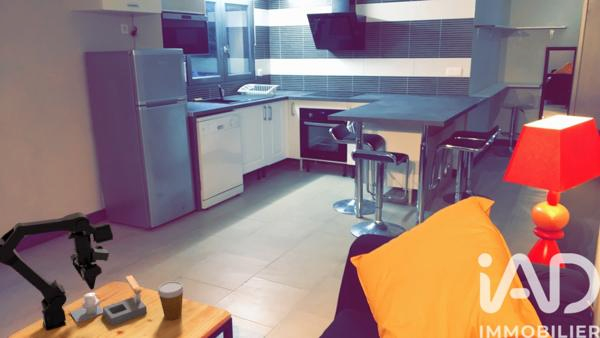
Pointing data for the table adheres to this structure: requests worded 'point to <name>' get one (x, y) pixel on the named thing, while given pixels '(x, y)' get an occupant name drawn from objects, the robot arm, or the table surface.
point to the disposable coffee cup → (171, 299)
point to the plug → (90, 303)
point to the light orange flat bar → (133, 284)
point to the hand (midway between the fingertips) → (88, 284)
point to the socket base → (124, 310)
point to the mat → (84, 314)
